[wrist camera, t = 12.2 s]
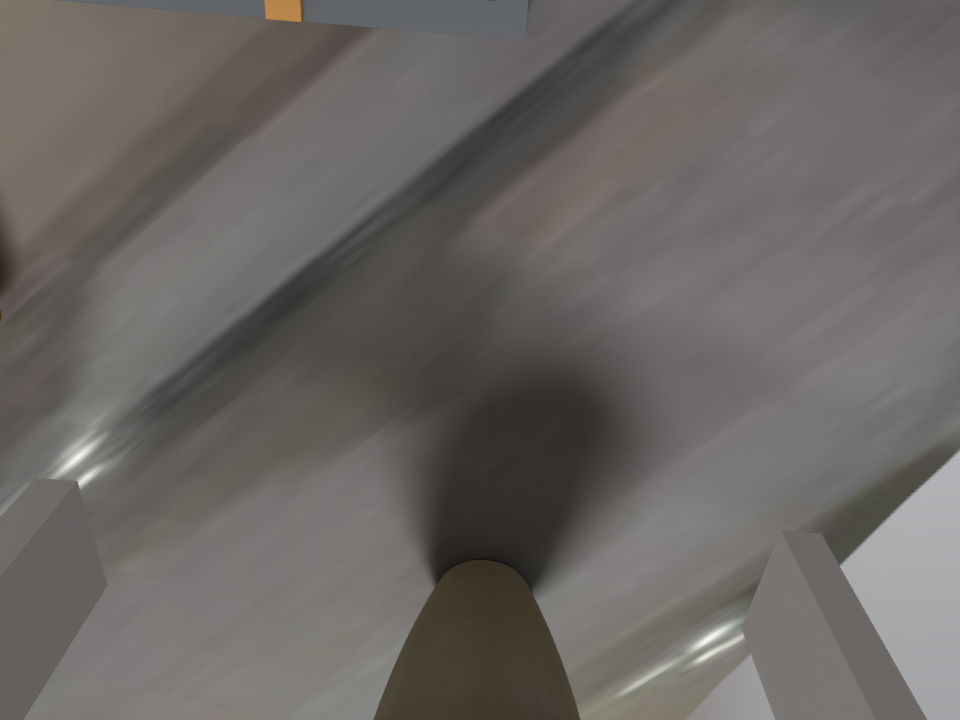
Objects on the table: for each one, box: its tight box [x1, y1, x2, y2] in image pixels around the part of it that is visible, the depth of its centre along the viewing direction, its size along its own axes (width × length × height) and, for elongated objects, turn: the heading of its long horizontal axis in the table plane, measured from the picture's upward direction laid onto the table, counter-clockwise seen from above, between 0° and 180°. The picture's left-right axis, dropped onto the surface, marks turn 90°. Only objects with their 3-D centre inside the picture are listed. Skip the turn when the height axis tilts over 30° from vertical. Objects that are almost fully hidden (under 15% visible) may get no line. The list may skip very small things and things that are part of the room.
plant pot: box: [374, 560, 580, 720], centre depth 48 cm, size 15×15×16 cm
